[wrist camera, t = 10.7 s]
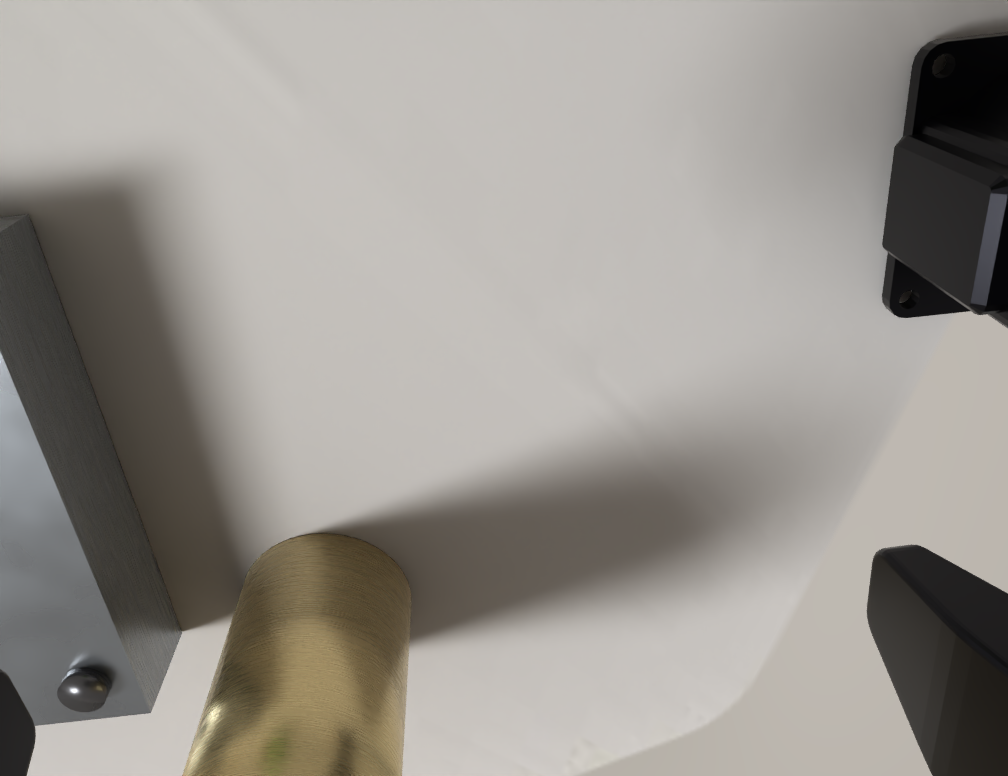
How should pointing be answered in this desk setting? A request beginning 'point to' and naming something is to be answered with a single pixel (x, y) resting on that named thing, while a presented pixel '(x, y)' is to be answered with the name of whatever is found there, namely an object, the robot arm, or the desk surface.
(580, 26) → the desk surface
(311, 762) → the cylinder
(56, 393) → the housing
